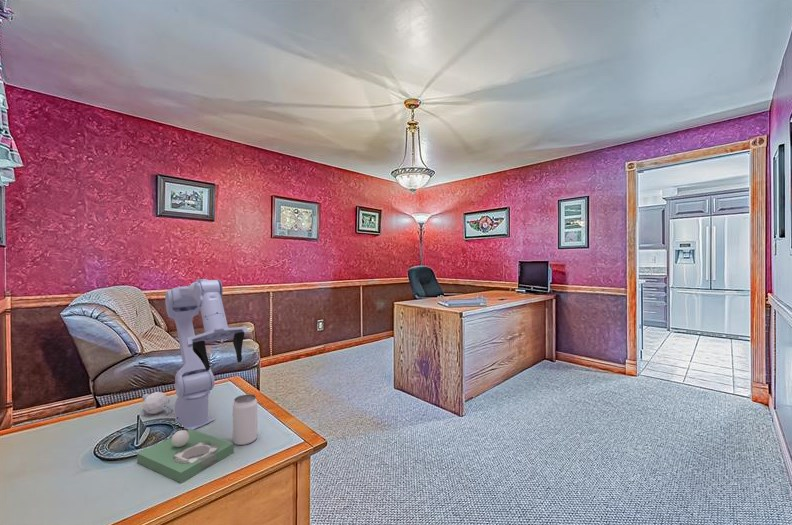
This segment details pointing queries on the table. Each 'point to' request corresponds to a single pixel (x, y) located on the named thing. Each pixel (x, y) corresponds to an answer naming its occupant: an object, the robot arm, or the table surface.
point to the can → (245, 419)
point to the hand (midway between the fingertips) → (224, 365)
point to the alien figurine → (156, 403)
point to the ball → (180, 438)
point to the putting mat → (185, 455)
